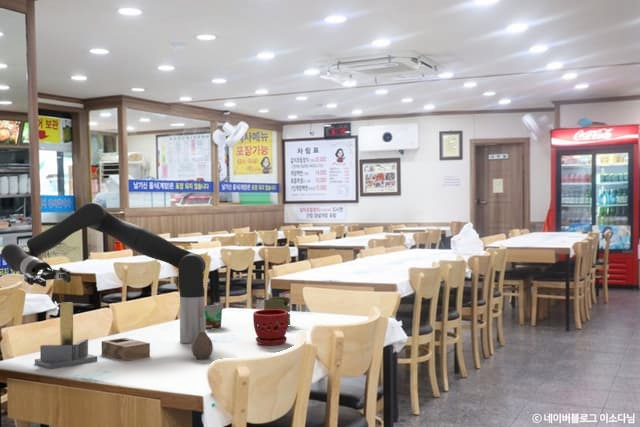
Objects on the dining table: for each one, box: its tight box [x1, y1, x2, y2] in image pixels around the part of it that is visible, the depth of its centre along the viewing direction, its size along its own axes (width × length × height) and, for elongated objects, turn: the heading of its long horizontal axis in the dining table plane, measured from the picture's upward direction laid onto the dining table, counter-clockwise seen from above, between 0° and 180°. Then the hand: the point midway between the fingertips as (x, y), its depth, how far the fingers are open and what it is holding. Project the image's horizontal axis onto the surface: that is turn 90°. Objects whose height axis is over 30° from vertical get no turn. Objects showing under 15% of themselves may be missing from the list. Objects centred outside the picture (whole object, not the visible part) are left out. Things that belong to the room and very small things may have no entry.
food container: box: [205, 302, 224, 330], centre depth 288 cm, size 12×6×10 cm, turn 168°
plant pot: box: [252, 309, 289, 346], centre depth 252 cm, size 13×13×12 cm
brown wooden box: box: [101, 337, 151, 361], centre depth 232 cm, size 16×9×4 cm, turn 47°
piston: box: [263, 296, 291, 326], centre depth 291 cm, size 11×12×11 cm
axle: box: [59, 301, 74, 345], centre depth 221 cm, size 4×4×18 cm
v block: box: [34, 338, 98, 370], centre depth 221 cm, size 12×16×6 cm
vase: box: [191, 332, 214, 360], centre depth 226 cm, size 7×7×9 cm
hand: (57, 281), depth 228 cm, fingers open, 8 cm apart
